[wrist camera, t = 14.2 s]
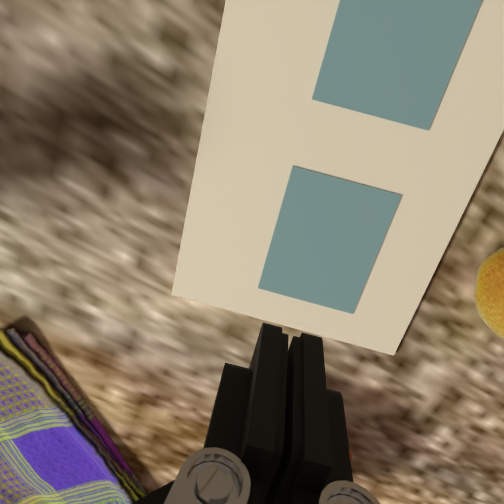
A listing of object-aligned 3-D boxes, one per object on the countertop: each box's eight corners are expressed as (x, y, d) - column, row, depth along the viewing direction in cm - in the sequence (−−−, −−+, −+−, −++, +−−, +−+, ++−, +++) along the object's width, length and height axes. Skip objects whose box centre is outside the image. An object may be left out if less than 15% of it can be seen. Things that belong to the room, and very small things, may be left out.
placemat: (261, -184, 19) (260, -189, 19) (608, -93, 19) (614, -96, 19) (172, 292, 31) (171, 295, 30) (392, 352, 30) (394, 356, 30)
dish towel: (34, 533, 46) (18, 560, 43) (-118, 367, 38) (-148, 387, 36) (167, 505, 41) (158, 533, 39) (24, 310, 34) (1, 329, 31)
